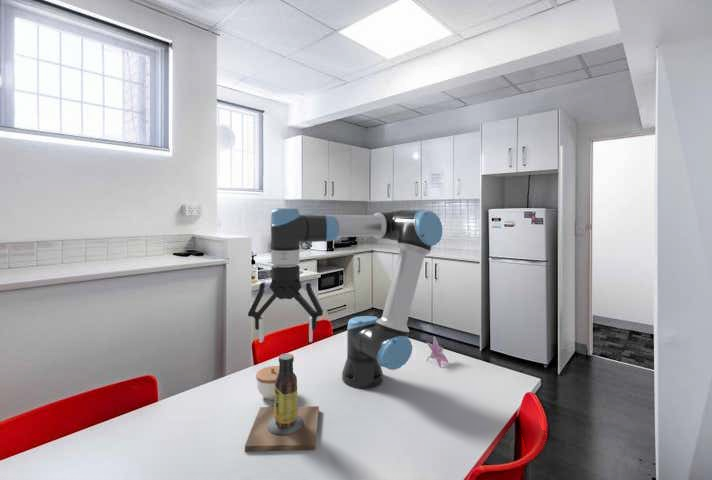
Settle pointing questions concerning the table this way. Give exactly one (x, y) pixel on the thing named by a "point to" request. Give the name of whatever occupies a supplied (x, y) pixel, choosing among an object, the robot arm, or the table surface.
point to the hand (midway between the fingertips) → (286, 340)
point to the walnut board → (284, 431)
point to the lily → (437, 352)
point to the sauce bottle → (286, 393)
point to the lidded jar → (267, 381)
